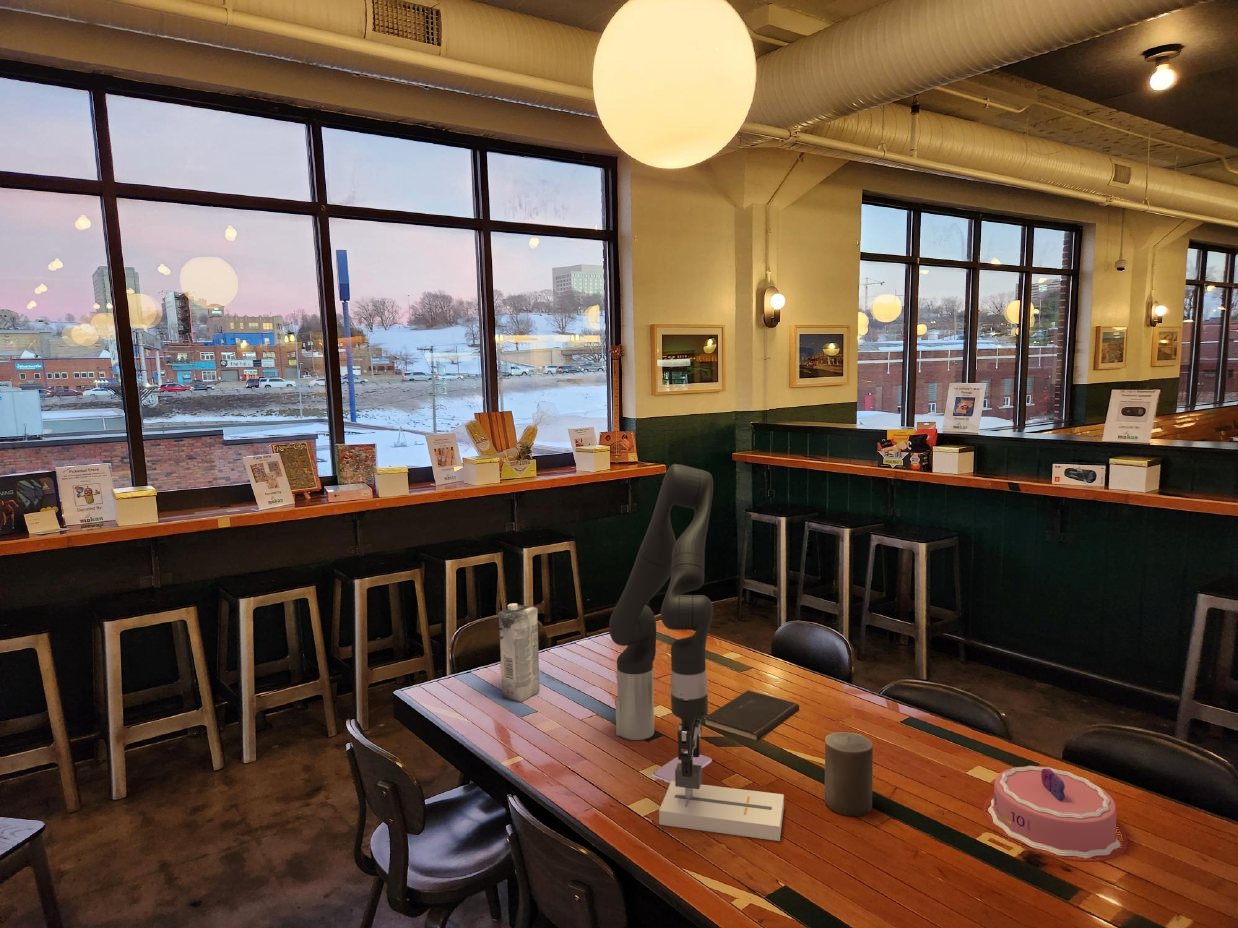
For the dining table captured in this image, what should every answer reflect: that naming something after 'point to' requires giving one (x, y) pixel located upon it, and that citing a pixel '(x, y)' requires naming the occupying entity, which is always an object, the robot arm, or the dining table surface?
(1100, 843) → the cake
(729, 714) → the hardcover book
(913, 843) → the dining table surface
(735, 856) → the dining table surface
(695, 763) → the mobile phone
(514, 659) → the juice carton
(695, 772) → the fader
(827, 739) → the pillar candle
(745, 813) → the dimmer panel
